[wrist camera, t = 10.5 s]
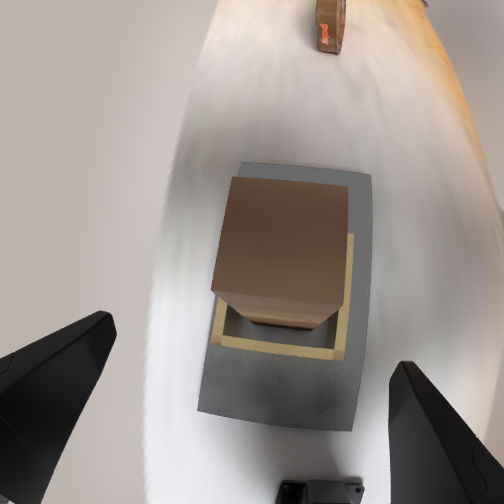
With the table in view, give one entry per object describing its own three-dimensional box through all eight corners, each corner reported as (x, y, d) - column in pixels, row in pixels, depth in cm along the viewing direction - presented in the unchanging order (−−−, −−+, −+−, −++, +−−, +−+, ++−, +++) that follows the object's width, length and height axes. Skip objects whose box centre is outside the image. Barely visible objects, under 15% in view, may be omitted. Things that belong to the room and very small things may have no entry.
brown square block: (311, 331, 20) (343, 305, 9) (254, 324, 21) (210, 290, 9) (317, 275, 22) (348, 186, 10) (261, 269, 22) (232, 176, 10)
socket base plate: (348, 428, 19) (364, 447, 14) (201, 408, 20) (178, 422, 16) (368, 180, 25) (382, 146, 20) (243, 168, 26) (233, 132, 22)
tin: (338, 66, 30) (343, 8, 22) (311, 61, 30) (312, 3, 22) (346, 16, 34) (349, -28, 26) (325, 13, 35) (326, -31, 27)
